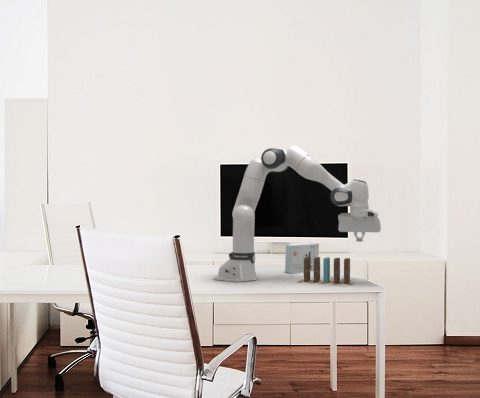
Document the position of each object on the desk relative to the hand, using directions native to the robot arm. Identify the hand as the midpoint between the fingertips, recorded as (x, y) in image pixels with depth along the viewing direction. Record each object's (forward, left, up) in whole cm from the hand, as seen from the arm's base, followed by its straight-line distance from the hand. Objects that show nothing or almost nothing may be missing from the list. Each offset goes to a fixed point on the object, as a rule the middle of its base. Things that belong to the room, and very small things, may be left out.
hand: (359, 241), depth 310 cm
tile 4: (-21, 0, -21) cm, 29 cm away
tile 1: (-6, 0, -21) cm, 22 cm away
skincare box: (-38, +39, -22) cm, 59 cm away
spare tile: (-16, 0, -21) cm, 26 cm away
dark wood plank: (-26, 0, -21) cm, 33 cm away
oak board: (-17, 0, -22) cm, 27 cm away
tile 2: (-11, 0, -21) cm, 23 cm away
